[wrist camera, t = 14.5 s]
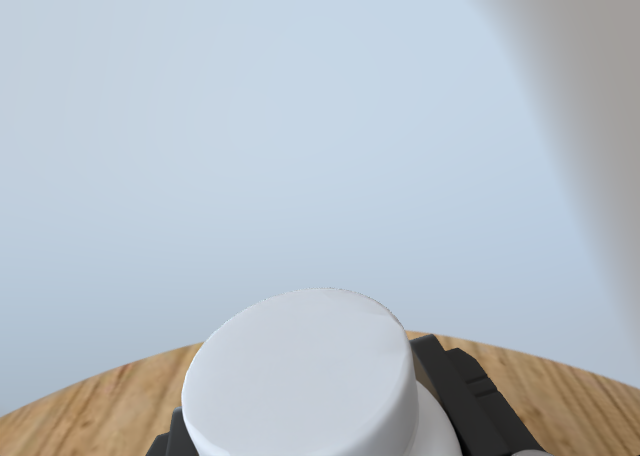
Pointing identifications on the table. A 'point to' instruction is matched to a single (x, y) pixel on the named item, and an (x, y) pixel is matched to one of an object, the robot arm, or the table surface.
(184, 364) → the table surface
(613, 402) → the table surface
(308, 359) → the pill bottle
